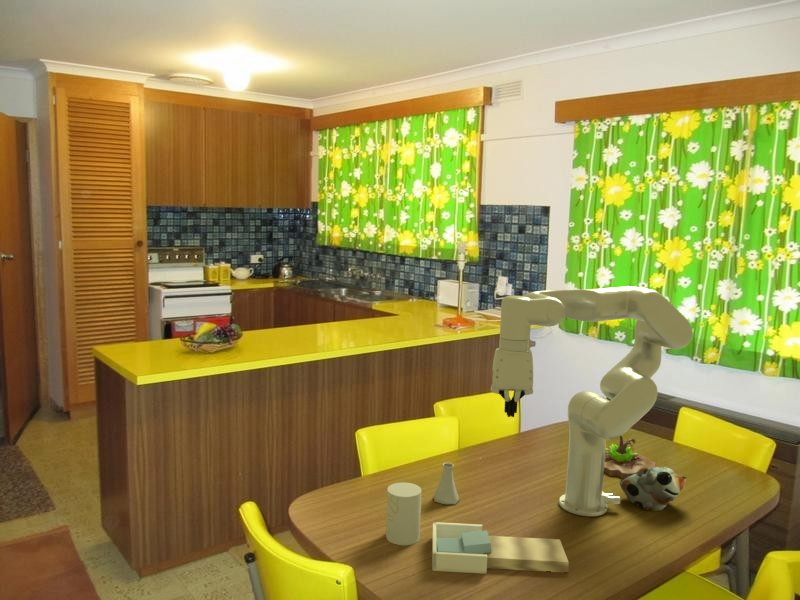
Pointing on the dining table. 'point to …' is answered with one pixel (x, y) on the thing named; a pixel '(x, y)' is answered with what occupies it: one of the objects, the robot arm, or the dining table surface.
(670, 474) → the grey toy figure
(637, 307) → the robot arm
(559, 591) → the dining table surface
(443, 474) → the flask
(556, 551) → the board
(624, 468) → the plant
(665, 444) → the dining table surface
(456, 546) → the tile
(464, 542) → the tile
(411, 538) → the grey cylinder
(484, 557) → the tray
